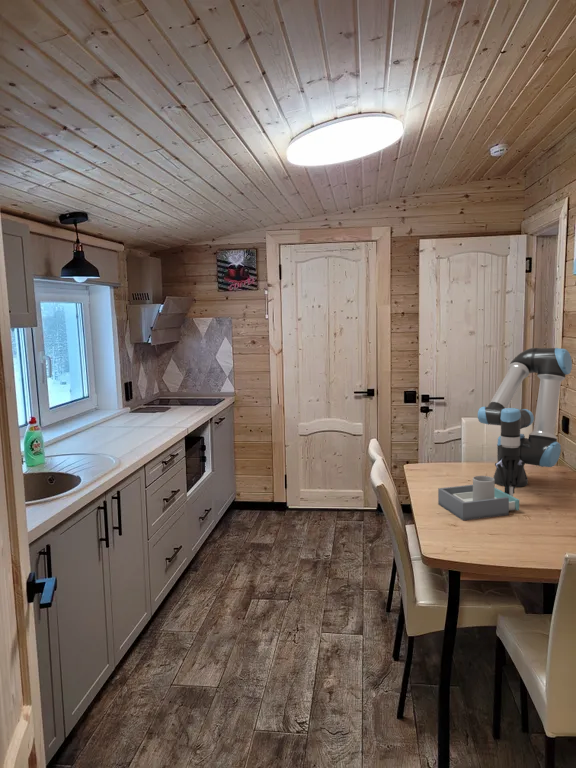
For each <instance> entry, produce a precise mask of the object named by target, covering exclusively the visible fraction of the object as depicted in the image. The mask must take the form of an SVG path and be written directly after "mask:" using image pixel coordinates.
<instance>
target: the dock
mask: <svg viewBox="0 0 576 768" xmlns="http://www.w3.org/2000/svg"><path fill="white" fill-rule="evenodd" d="M437 491H438V499H437V501H438V502H437V504H438V506H440V507H441V508H443V509H444V510H446V511H447V512H449V513H451V514H452V515H454V516H455V517H457V518H459V519H460V520H461V521H471V520H477V519H487V518H496V517H504V516H509V514H510V513H509V512H510V510H509V498H508V497H503V498H495V499H486V500H477V501H469V502H463V501H462V500H460V499H458V498H457V497H455V496H453V495H452V494H455V493H464V492H473V484H466V485H458V486H457V485H456V486H447V487H440V488H438V490H437Z"/></svg>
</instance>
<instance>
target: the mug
mask: <svg viewBox="0 0 576 768" xmlns="http://www.w3.org/2000/svg"><path fill="white" fill-rule="evenodd" d="M472 485H473V501H477V500H486V499H495V488H496V487H495V485H496V483H495V479H494V478H493V476H488V475H476V476H473V477H472Z"/></svg>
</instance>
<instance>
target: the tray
mask: <svg viewBox="0 0 576 768" xmlns="http://www.w3.org/2000/svg"><path fill="white" fill-rule="evenodd" d="M452 495H453V496H455V497H457V498H458V499H460V500H462V501H463V502H469V501H473V492H464V493H455V494H452ZM503 497H508V498H509V511H520V499H519V498H516V497H514V495H513V496H511V495H509V494H507V493H505V491H502V490H501V489H499V488H497V487H495V498H503Z"/></svg>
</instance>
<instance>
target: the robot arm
mask: <svg viewBox="0 0 576 768" xmlns="http://www.w3.org/2000/svg"><path fill="white" fill-rule="evenodd" d="M572 368H573V361H572V356H571V354H570V352H569V350H568V349H566V348H559V347H531V348H528V349H526V350H524V351H522V352H520V353H518V354H517V355H516V356H515V357H514V358H512V360H511V362H510V363H509V364H508V368H507V370H508V371H507V373H506V374H505V376H504V377H503V380H502V381H501V383H500V385H499V387H498V388H497V389H496V391H495V393H494V395H493V397H492V398H491V400H490V402H489V404H488V405H487V406H481V407H480V408H478V411H477V419H478V422H480V424H484V425H492V426H500V435H499V436H498V438H497V444H496V445H497V447H496V448H497V449H496V450H497V452H496V453H497V462H495V463H494V466H495V467H496V469H495V472H494V475H493V476H492V478H494V479H495V485H498V486H501V487H502V486H503V487H504V492H505V493H507V494H509V495H511V496H513V497H514V494H515V491H516V490H515V489H516V488H520V487H521V488H522V487H525V486H527V485H529V482H528V481H529V479H528V476H527V473H526V469H525V464H526V465H532V466H538V467H543V468H544V467H545V468H552V467H554V466H556V464H557V463H558V461H559V459H560V457H561V451H562V449H561V448H562V446H561V444H560V442H558V437H557V436H556V435H555V430H556V429H555V428H556V421H557V413H558V407H559V401H560V400H559V397H560V393H561V383H562V382H563V381H564V380H565V379H566V375H567V376H568V375H570V374H571V373H572V372H571V371H572ZM533 373H536V374H537V378H538V379H539V387H538V388H539V389H538V395H537V401H536V409H535V417H534V414H533V412H532V411H531V410H529V409H527V408H522V409H520V408H514V407H509V405H510V404H511V402H512V400H513V399H514V397H515V395H516V393H517V391H518V389H519V388H520V386H521V385H522V383H523V381H524V379H526V378H528V377H529V375H530V374H533ZM532 424H533V430H532V431H531V432H530V433H528V438H527V437H525V434H524V433H521V430H522V429H524V428H528V427H529V426H531V425H532Z"/></svg>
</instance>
